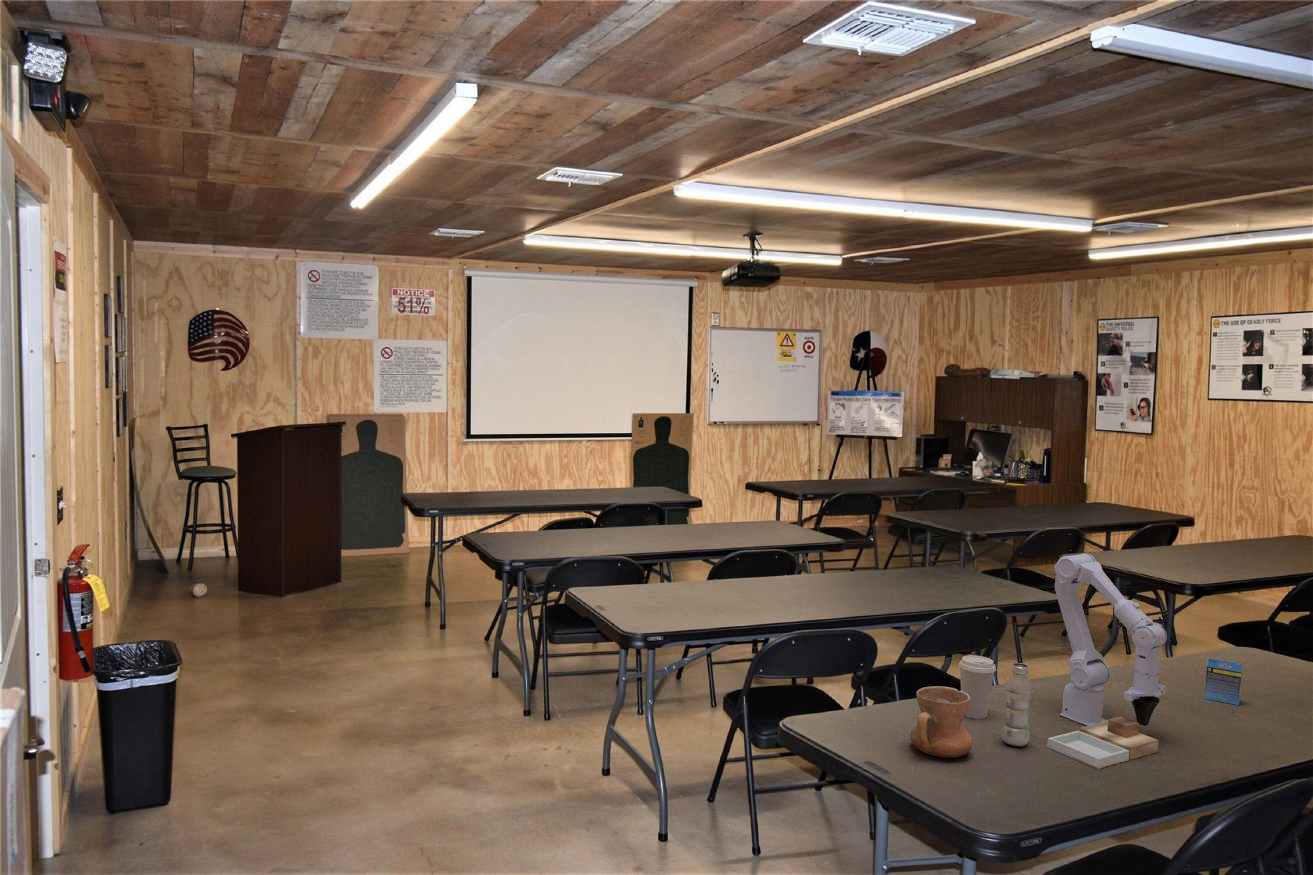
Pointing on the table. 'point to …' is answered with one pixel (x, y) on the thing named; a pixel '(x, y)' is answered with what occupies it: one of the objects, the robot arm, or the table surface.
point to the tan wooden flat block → (1123, 740)
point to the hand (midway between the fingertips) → (1142, 724)
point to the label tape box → (1223, 681)
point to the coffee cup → (977, 683)
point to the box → (1088, 749)
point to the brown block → (1123, 727)
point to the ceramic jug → (942, 723)
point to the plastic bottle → (1017, 706)
